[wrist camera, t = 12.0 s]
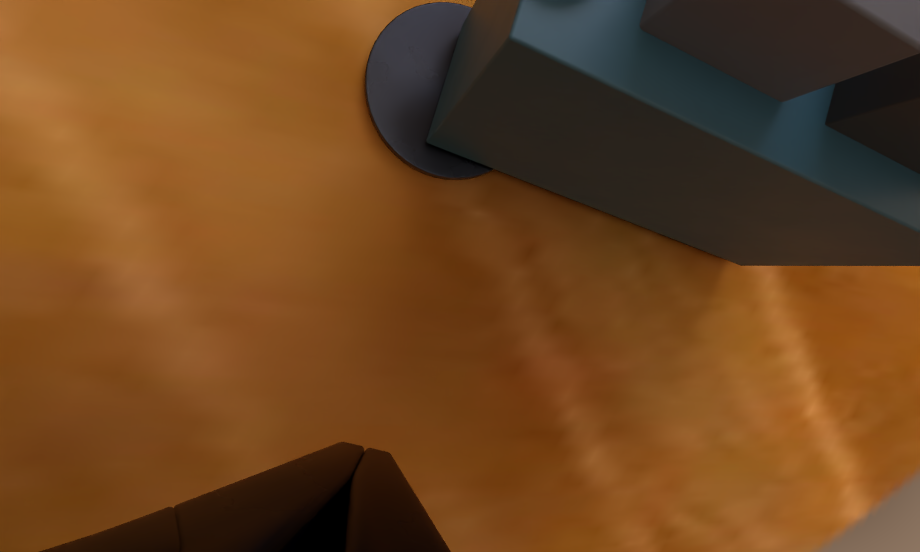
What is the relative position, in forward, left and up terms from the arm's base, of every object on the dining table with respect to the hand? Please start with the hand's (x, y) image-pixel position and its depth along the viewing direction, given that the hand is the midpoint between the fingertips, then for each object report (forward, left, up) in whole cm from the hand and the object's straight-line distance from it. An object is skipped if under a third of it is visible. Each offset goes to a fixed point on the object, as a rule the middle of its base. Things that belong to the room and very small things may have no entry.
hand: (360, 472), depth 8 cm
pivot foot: (+9, +7, -11) cm, 16 cm away
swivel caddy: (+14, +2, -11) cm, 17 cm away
